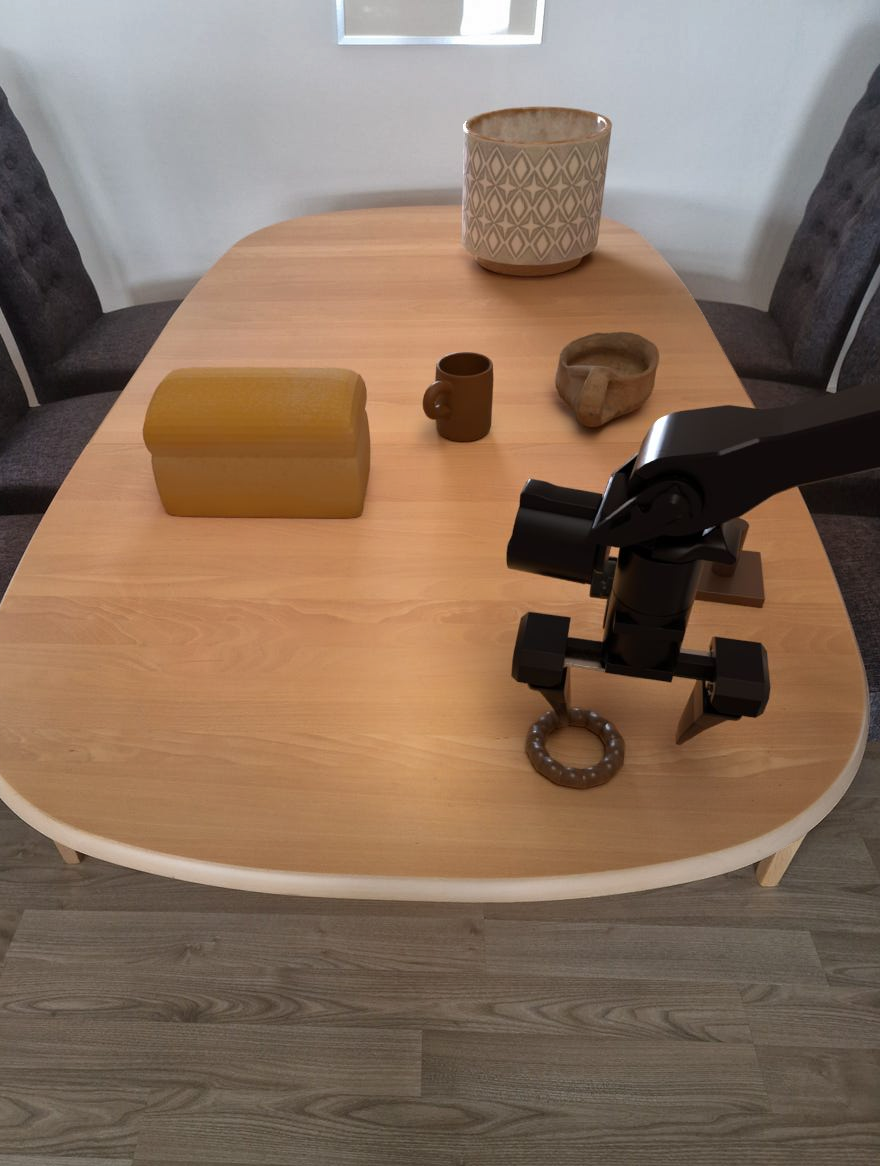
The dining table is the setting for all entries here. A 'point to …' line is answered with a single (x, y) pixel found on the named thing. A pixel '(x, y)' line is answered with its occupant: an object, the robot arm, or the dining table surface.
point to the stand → (734, 577)
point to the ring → (569, 774)
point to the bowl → (606, 375)
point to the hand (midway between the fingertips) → (621, 731)
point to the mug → (461, 396)
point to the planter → (533, 188)
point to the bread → (260, 442)
